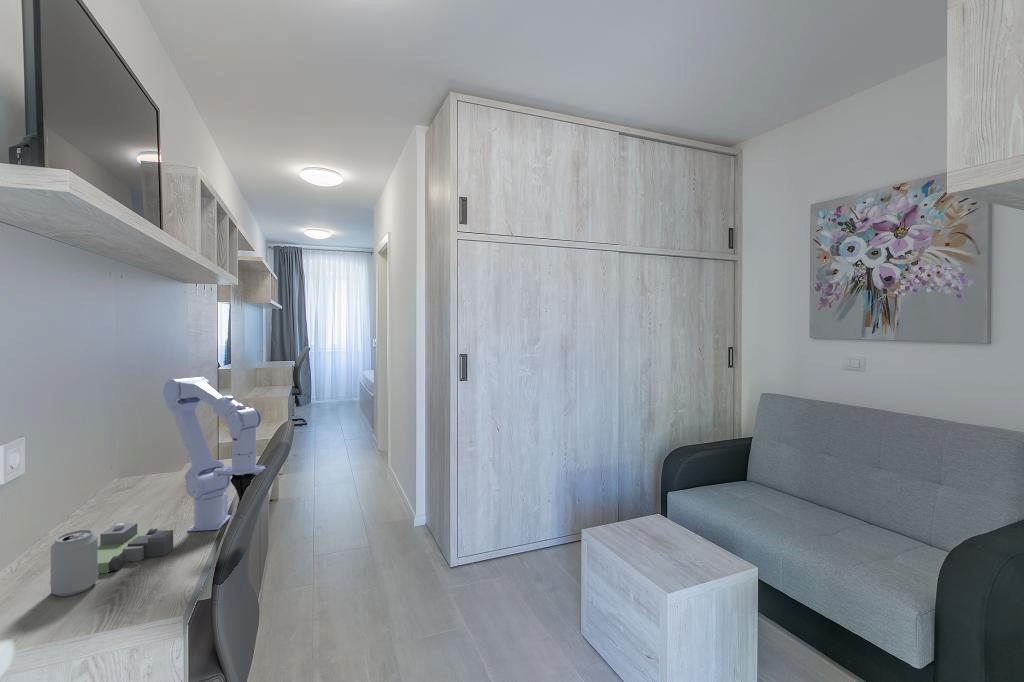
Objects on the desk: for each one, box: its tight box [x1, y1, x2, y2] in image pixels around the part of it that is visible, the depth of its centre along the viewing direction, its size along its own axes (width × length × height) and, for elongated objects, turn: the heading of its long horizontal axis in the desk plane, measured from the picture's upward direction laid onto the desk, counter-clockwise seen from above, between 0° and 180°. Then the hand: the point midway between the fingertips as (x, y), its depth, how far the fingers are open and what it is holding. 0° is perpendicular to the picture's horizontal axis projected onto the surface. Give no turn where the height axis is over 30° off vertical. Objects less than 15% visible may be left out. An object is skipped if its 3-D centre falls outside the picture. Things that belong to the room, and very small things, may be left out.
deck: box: [98, 522, 159, 574], centre depth 116 cm, size 18×14×6 cm
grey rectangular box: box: [128, 529, 174, 558], centre depth 118 cm, size 4×8×5 cm, turn 101°
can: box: [50, 528, 99, 597], centre depth 102 cm, size 8×8×12 cm
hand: (243, 501), depth 129 cm, fingers closed
